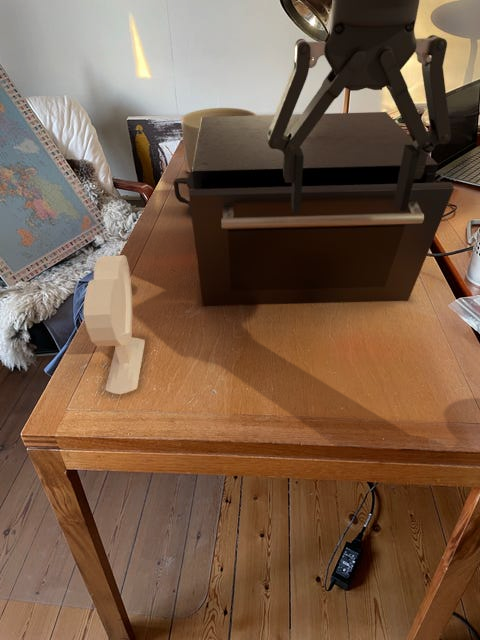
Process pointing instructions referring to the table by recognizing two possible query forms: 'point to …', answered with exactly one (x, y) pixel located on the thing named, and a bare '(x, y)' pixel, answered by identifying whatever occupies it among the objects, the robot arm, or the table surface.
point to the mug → (189, 184)
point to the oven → (318, 149)
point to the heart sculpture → (114, 321)
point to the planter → (193, 126)
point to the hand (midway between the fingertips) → (347, 207)
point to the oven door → (313, 243)
